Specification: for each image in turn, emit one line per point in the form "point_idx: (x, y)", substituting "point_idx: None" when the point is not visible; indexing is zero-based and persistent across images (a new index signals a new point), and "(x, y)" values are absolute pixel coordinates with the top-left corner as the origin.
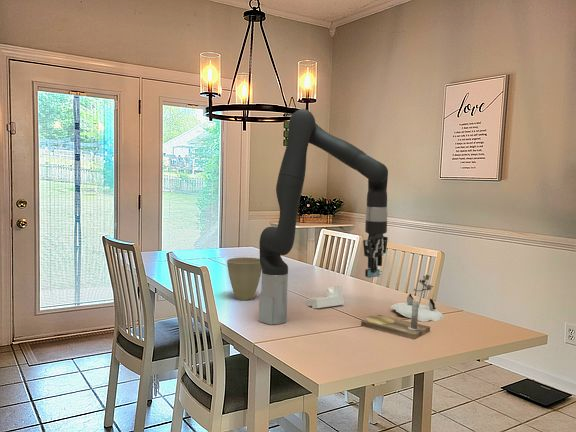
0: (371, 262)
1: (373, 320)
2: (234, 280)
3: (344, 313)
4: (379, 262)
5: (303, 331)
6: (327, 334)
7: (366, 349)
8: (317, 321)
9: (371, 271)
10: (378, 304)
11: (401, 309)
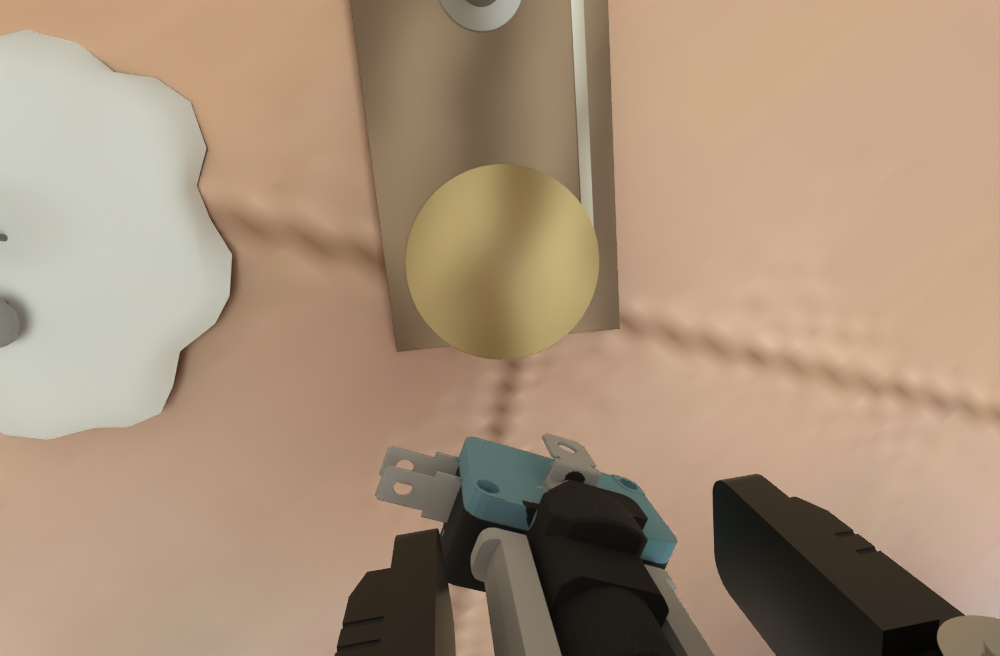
0: (887, 558)
1: (552, 284)
2: None
3: None
4: (440, 606)
5: (918, 446)
6: (878, 338)
7: (953, 31)
8: None
9: (640, 510)
10: (105, 555)
11: (178, 296)
